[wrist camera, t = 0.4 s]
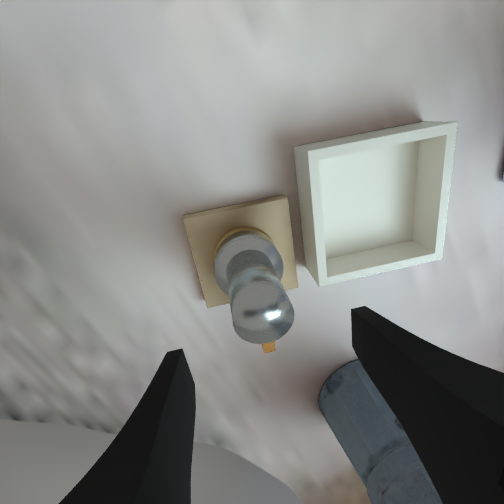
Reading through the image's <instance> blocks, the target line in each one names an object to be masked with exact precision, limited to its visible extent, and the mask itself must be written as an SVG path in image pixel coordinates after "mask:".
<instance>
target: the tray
mask: <svg viewBox="0 0 504 504" xmlns="http://www.w3.org/2000/svg"><path fill="white" fill-rule="evenodd" d="M457 125H458V122H434V121H423V122H418V123H413V124H408V125H403V126H397V127H392V128H387V129H382V130H377V131H372V132H367V133H362V134H356V135H351V136H346V137H341V138H336V139H331V140H326V141H321V142H315V143H310V144H305V145H300V146H295V147H293V148H294V157H295V167H296V177H297V186H298V196H299V206H300V215H301V225H302V235H303V244H304V254H305V263H306V268H307V270H308V271H309V273H310V274H311V275H312V277H313V278H314V280H315V281H316V283H317V284H318V286H319V287H321V286H325V285H330V284H334V283H338V282H343V281H347V280H352V279H356V278H361V277H365V276H369V275H374V274H378V273H383V272H387V271H391V270H396V269H400V268H405V267H409V266H414V265H418V264H422V263H427V262H431V261H436V260H440V259H442V256H443V247H444V239H445V230H446V221H447V212H448V204H449V195H450V186H451V177H452V169H453V160H454V151H455V142H456V134H457Z"/></svg>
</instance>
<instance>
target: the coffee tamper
mask: <svg viewBox="0 0 504 504" xmlns="http://www.w3.org/2000/svg"><path fill="white" fill-rule="evenodd" d="M214 270H215V279H216V282H217V284H218V286H219V288H220V289H221V290H222V291H223V292H224V293H225V294H226V295H228V296H229V299H230V306H231V313H232V320H233V326H234V329H235V331H236V333H237V334H238V335H239V336H240V337H241V338H242V339H244V340H245V341H248V342H251V343H255V344H262V346H263V350H264V353H267V352H272V351H276V350H275V344H274V341H275V340H277V339H279V338H281V337H282V336H283V335H285V334H286V333H287V332H288V330H289V329H290V327H291V326H292V323H293V320H294V310H293V307H292V304H291V302H290V300H289V298H288V296H287V294H286V292H285V290H284V287H283V285H282V283H281V279H282V276H283V270H284V265H283V260H282V257H281V255H280V253H279V252H278V250H277V248H276V246H275V244H274V243H273V242H272V240H271V239H270V238H268V237H267V236H266V235H264V234H262V233H259V232H256V231H240V232H237V233H234V234H232V235H230V236H228V237H227V238H226V239H225V240H223V241H222V243H221V244H220V245H219V247H218V248H217V250H216V253H215V256H214Z"/></svg>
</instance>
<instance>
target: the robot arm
mask: <svg viewBox="0 0 504 504" xmlns="http://www.w3.org/2000/svg"><path fill="white" fill-rule="evenodd" d="M503 181H504V174H503ZM351 321H352V347H353V349H354V351H355V353H356V355H357V357H358V359H359V361H360V362H361V364H362V366H363V368H364V370H365V371H366V373H367V374H368V376H369V377H370V379H371V380H372V382H373V383H374V385H375V386H376V388H377V389H378V391H379V392H380V394H381V395H382V397H383V398H384V400H385V401H386V403H387V404H388V405H389V407H390V408H391V410H392V411H393V413H394V414H395V416H396V417H397V419H398V421H399V422H400V424H401V425H402V427H403V429H404V431H405V432H406V434H407V436H408V438H409V440H410V442H411V443H412V445H413V447H414V449H415V451H416V452H417V454H418V456H419V458H420V460H421V462H422V464H423V466H424V468H425V469H426V471H427V473H428V475H429V477H430V479H431V481H432V483H433V485H434V487H435V489H436V491H437V493H438V495H439V497H440V499H441V501H442V503H443V504H504V373H502V372H499V371H496V370H494V369H491V368H488V367H485V366H482V365H480V364H477V363H474V362H472V361H469V360H467V359H464V358H462V357H460V356H457V355H455V354H453V353H450V352H448V351H446V350H444V349H441V348H439V347H437V346H435V345H433V344H431V343H429V342H427V341H425V340H423V339H421V338H419V337H417V336H416V335H414V334H412V333H410V332H408V331H406V330H405V329H403V328H401V327H399V326H398V325H396V324H394V323H393V322H391V321H389V320H388V319H386V318H384V317H383V316H381V315H379V314H378V313H376V312H374V311H373V310H371V309H369V308H367V307H366V306H363V307H359V308H354V309H351ZM195 412H196V403H195V383H194V381H193V378H192V375H191V372H190V369H189V366H188V363H187V361H186V358H185V355H184V352H183V349H178V350H174V351H169V352H167V353H166V355H165V357H164V359H163V361H162V363H161V364H160V366H159V368H158V370H157V372H156V374H155V376H154V378H153V379H152V381H151V383H150V385H149V386H148V388H147V390H146V392H145V393H144V395H143V397H142V399H141V400H140V402H139V403H138V405H137V407H136V408H135V410H134V411H133V413H132V414H131V416H130V418H129V419H128V421H127V422H126V424H125V425H124V426H123V428H122V429H121V431H120V432H119V434H118V435H117V436H116V438H115V439H114V440H113V442H112V443H111V444H110V446H109V447H108V448H107V449H106V451H105V452H104V453H103V454H102V456H101V457H100V458H99V459H98V461H97V462H96V463H95V464H94V466H93V467H92V468H91V469H90V470H89V471H88V473H87V474H86V475H85V476H84V477H83V478H82V479H81V480H80V482H79V483H78V484H77V485H76V486H75V487H74V488H73V489H72V490H71V491H70V492H69V493H68V495H67V496H66V497H65V498H64V499H63V500H62V501H61V502H60V503H59V504H191V486H190V485H191V483H190V481H191V463H192V451H193V438H194V426H195Z"/></svg>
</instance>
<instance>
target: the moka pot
mask: <svg viewBox="0 0 504 504" xmlns="http://www.w3.org/2000/svg"><path fill="white" fill-rule="evenodd" d="M319 407H320V409H321V411H322V413H323V415H324V417H325V419H326V421H327V423H328V425H329V426H330V428H331V430H332V431H333V433H334V435H335V436H336V438H337V440H338V441H339V443H340V445H341V446H342V448H343V450H344V451H345V453H346V455H347V456H348V458H349V460H350V461H351V463H352V465H353V466H354V468H355V470H356V472H357V473H358V475H359V476H360V478H361V480H362V481H363V483H364V485H365V487H366V488H367V494H368V496H369V498H370V501H371V503H372V504H443V503H442V501H441V499H440V497H439V495H438V493H437V491H436V489H435V487H434V485H433V483H432V481H431V479H430V477H429V475H428V473H427V471H426V469H425V468H424V466H423V464H422V462H421V460H420V458H419V456H418V454H417V452H416V451H415V449H414V447H413V445H412V443H411V442H410V440H409V438H408V436H407V434H406V432H405V431H404V429H403V427H402V425H401V424H400V422H399V421H398V419H397V417H396V416H395V414H394V413H393V411H392V410H391V408H390V407H389V405H388V404H387V403H386V401H385V400H384V398H383V397H382V395H381V394H380V392H379V391H378V389H377V388H376V386H375V385H374V383H373V382H372V380H371V379H370V377H369V376H368V374H367V373H366V371H365V370H364V368H363V366H362V364H361V362H360V361H359V360H356V361H353V362H351V363H348V364H346V365H345V366H343V367H341V368H340V369H338V370H337V371H336V372H335V373H334V374H332V375H331V376H330V377H329V379H328V380H327V381H326V382H325V384H324V386H323V388H322V391H321V393H320V398H319Z"/></svg>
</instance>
